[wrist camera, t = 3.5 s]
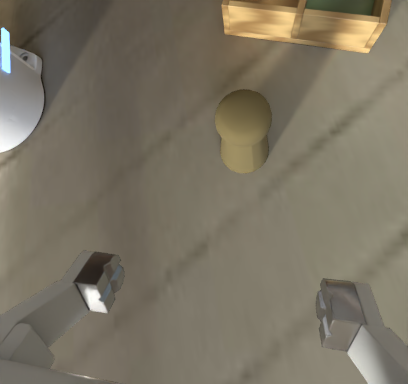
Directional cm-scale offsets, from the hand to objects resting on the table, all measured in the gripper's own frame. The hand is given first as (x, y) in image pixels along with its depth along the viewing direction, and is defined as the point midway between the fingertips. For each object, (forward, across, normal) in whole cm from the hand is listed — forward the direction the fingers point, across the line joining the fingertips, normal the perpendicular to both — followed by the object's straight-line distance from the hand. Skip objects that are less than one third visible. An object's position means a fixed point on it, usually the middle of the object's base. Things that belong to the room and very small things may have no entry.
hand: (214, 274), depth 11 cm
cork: (+25, 0, +7) cm, 26 cm away
